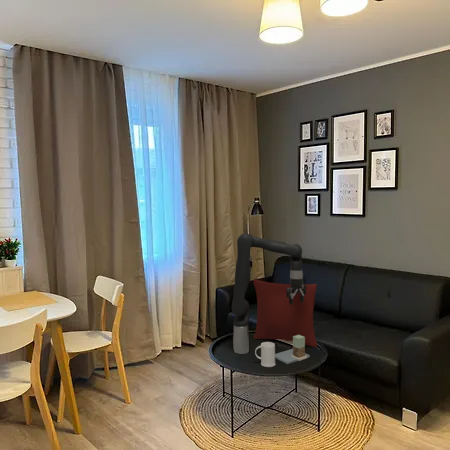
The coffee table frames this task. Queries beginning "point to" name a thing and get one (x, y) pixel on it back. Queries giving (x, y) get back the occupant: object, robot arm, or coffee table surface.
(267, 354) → the mug
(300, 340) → the sage block
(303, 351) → the walnut block
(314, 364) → the coffee table surface
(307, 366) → the coffee table surface
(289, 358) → the mat
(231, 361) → the coffee table surface
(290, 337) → the pillow
